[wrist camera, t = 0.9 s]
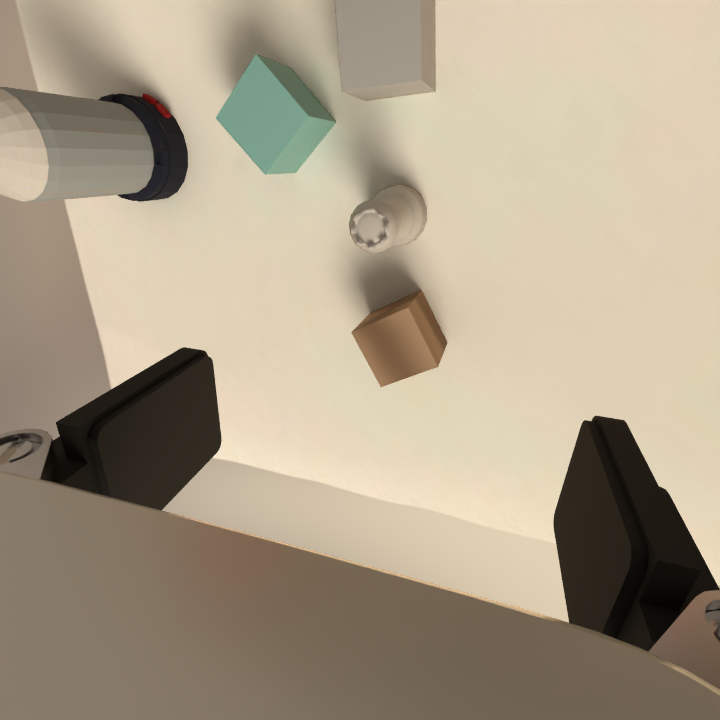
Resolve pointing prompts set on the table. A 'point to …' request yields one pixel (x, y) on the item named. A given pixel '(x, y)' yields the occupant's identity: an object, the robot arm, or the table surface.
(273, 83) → the teal cube
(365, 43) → the grey cube
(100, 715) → the robot arm
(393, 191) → the rook chess piece
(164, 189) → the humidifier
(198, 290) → the table surface
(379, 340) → the walnut cube
